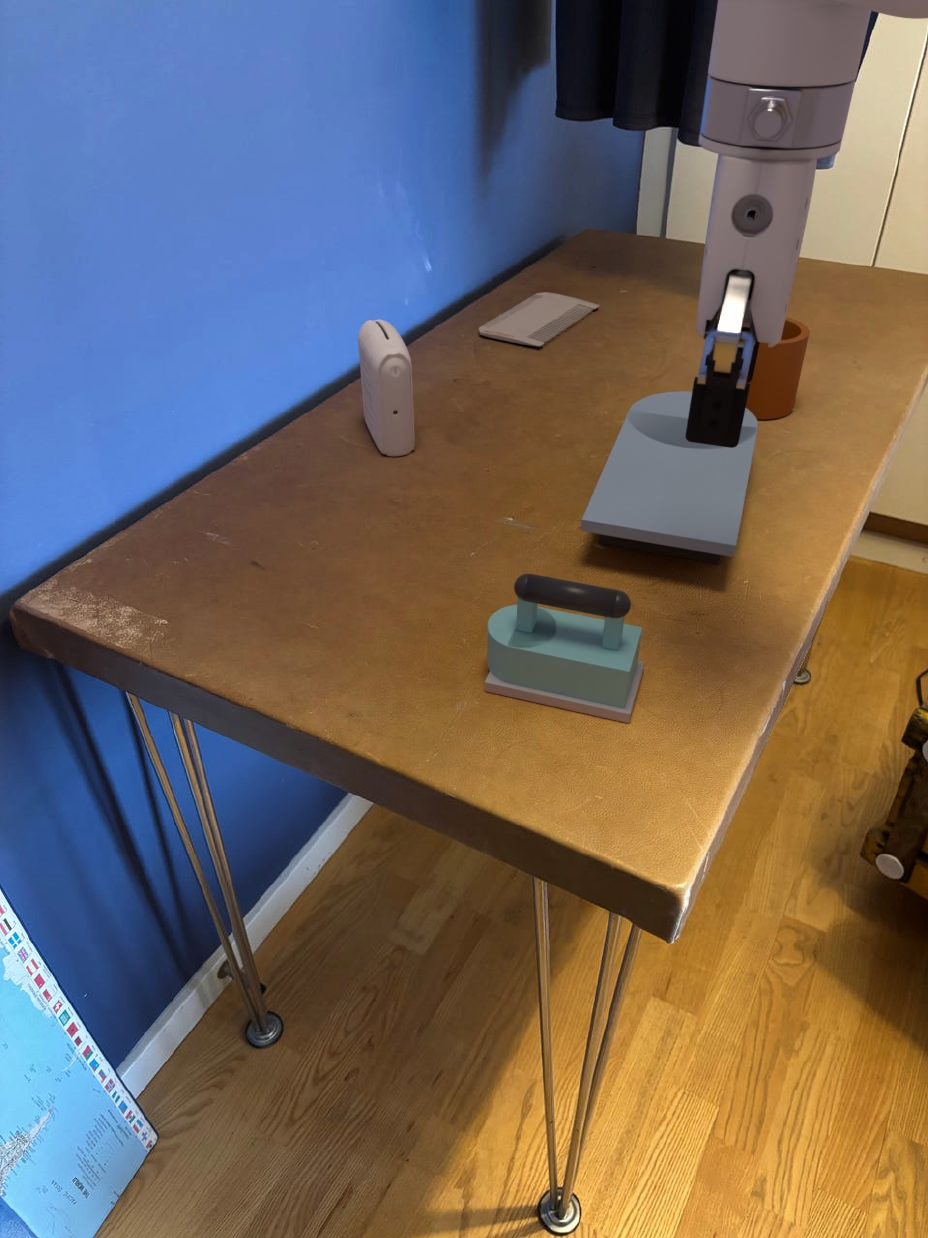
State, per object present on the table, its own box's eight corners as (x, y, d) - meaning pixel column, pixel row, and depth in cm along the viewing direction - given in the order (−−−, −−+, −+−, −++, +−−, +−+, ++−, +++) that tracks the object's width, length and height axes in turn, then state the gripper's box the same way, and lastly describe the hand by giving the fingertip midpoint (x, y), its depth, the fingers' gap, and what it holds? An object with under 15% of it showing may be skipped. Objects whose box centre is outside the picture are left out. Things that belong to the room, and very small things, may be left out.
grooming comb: (538, 349, 119) (538, 343, 118) (472, 334, 123) (472, 329, 123) (600, 307, 131) (601, 301, 131) (539, 294, 135) (539, 289, 135)
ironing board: (754, 443, 99) (763, 400, 96) (726, 593, 78) (736, 545, 75) (635, 426, 102) (640, 384, 99) (577, 566, 81) (581, 519, 78)
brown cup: (810, 387, 110) (828, 313, 104) (780, 427, 102) (798, 349, 96) (737, 372, 113) (751, 299, 108) (703, 409, 105) (716, 333, 100)
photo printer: (420, 454, 98) (415, 342, 90) (381, 460, 97) (372, 347, 89) (397, 413, 105) (390, 307, 98) (360, 418, 104) (351, 311, 97)
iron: (643, 671, 70) (658, 574, 65) (628, 723, 66) (643, 625, 60) (499, 641, 73) (501, 546, 68) (476, 689, 69) (476, 592, 63)
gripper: (844, 155, 42) (769, 481, 52) (848, 91, 54) (787, 364, 65) (679, 145, 44) (639, 462, 54) (720, 86, 56) (681, 352, 67)
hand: (720, 409), depth 60 cm, fingers open, 9 cm apart
